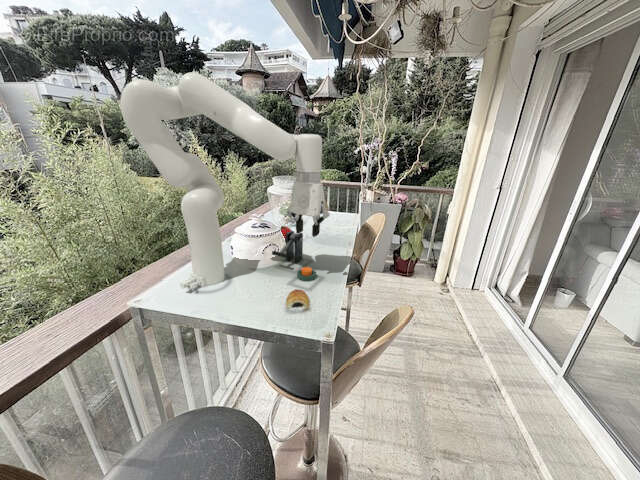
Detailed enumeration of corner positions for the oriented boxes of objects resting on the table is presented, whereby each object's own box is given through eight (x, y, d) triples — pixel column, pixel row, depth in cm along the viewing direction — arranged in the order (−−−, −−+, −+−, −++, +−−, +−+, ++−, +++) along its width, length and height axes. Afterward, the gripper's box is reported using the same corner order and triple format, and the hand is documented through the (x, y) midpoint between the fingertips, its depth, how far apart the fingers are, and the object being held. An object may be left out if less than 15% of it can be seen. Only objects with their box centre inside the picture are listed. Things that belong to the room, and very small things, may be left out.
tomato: (278, 237, 133) (277, 222, 130) (294, 239, 131) (294, 224, 128) (270, 243, 125) (270, 227, 122) (288, 245, 123) (288, 229, 120)
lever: (286, 260, 94) (285, 255, 92) (272, 256, 96) (271, 251, 95) (303, 239, 102) (302, 234, 100) (290, 236, 104) (288, 231, 103)
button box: (309, 290, 87) (309, 281, 86) (289, 283, 90) (288, 275, 89) (323, 277, 95) (323, 270, 94) (304, 272, 99) (304, 264, 98)
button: (308, 277, 90) (308, 272, 89) (299, 274, 91) (299, 269, 91) (313, 272, 93) (313, 268, 92) (304, 270, 94) (304, 266, 94)
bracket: (295, 272, 98) (295, 240, 94) (275, 266, 102) (275, 235, 97) (311, 261, 108) (312, 231, 104) (292, 256, 112) (292, 227, 108)
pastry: (287, 294, 84) (287, 284, 82) (308, 294, 84) (308, 284, 83) (286, 312, 75) (286, 301, 74) (309, 312, 76) (310, 300, 74)
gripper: (278, 176, 81) (279, 232, 87) (328, 181, 74) (325, 242, 80) (291, 174, 87) (291, 226, 94) (339, 179, 80) (335, 235, 86)
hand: (307, 233), depth 87 cm, fingers open, 5 cm apart
